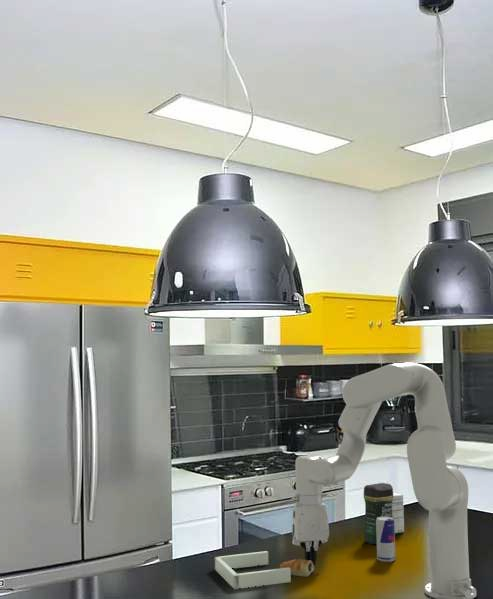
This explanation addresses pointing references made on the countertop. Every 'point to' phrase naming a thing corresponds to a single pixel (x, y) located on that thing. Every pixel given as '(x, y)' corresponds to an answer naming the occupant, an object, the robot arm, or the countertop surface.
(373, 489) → the coffee jar
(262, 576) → the c-shaped clip
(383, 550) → the energy drink
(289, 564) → the pastry
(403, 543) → the countertop surface
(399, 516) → the supplement box
